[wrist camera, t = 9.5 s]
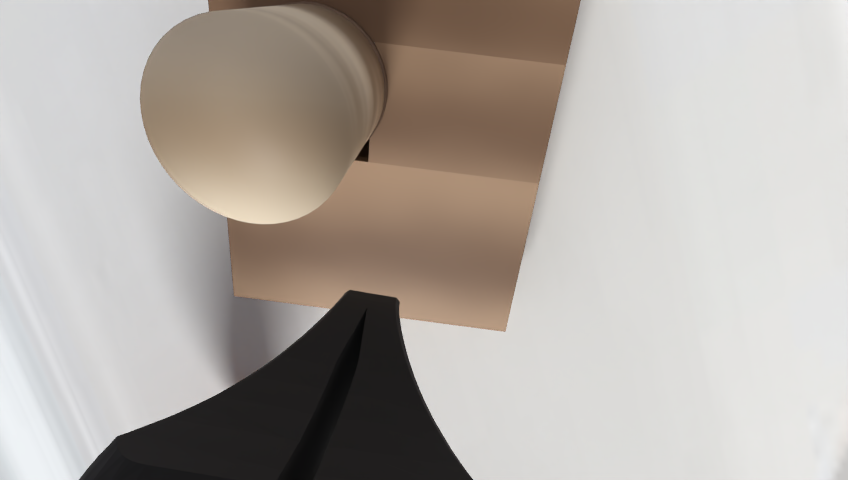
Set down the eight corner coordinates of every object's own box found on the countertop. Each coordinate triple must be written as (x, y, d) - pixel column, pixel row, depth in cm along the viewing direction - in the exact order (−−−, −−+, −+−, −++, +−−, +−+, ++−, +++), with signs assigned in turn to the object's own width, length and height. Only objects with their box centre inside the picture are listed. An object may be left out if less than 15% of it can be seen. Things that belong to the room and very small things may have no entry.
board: (240, -70, 18) (201, -80, 15) (569, -31, 18) (588, -35, 15) (259, 262, 24) (234, 295, 22) (500, 293, 24) (505, 331, 21)
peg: (263, -10, 18) (122, -9, 11) (403, 10, 18) (361, 26, 11) (266, 129, 21) (152, 210, 13) (390, 148, 21) (347, 239, 13)
